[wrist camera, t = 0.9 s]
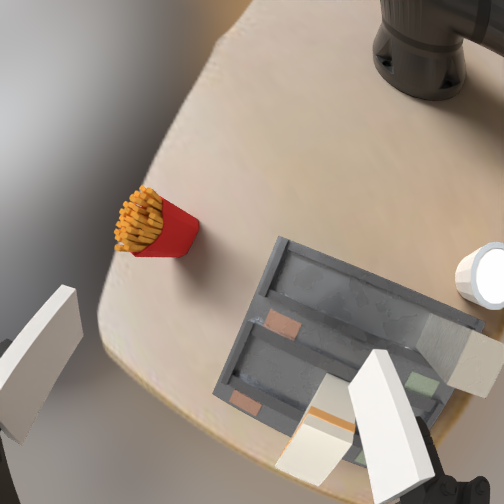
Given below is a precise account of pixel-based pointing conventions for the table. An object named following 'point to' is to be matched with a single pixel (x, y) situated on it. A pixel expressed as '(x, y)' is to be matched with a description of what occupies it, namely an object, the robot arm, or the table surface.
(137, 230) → the french fries
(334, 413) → the handle
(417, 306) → the breaker panel
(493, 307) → the white short cylinder
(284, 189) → the table surface
